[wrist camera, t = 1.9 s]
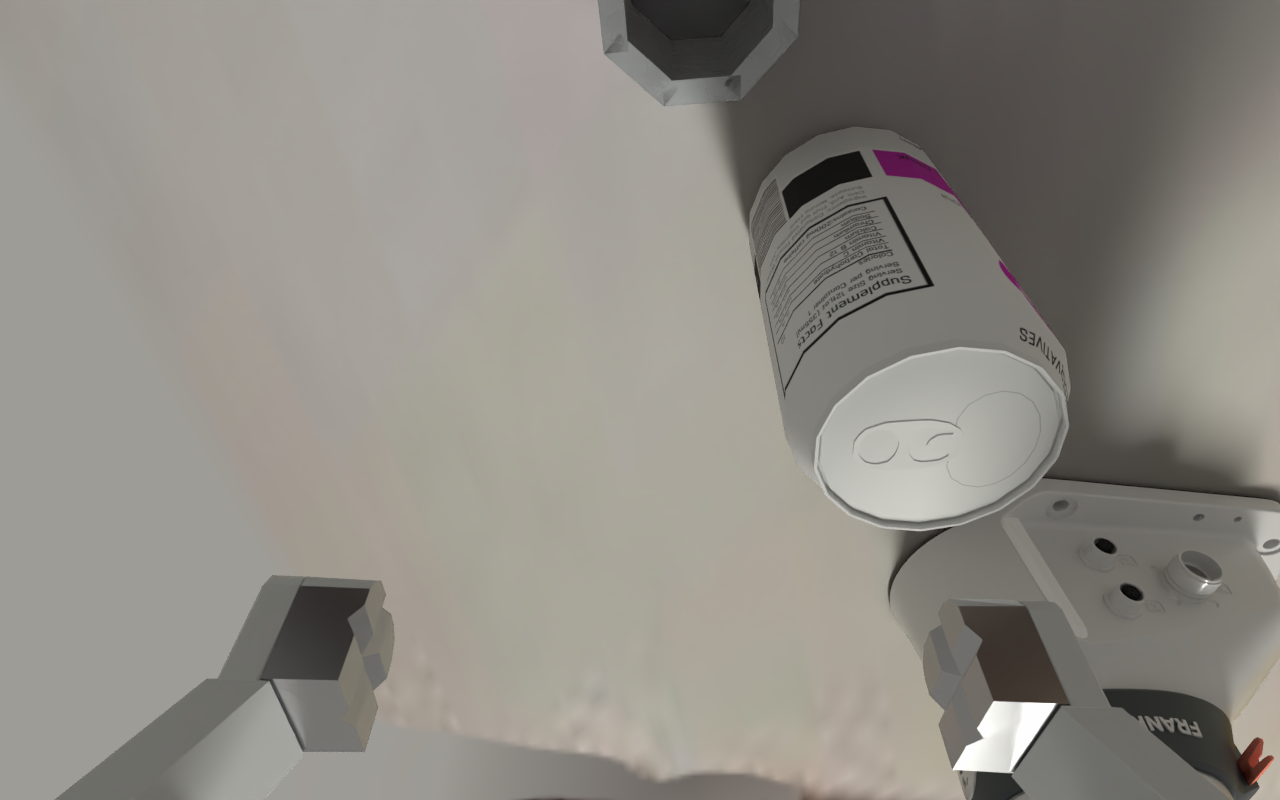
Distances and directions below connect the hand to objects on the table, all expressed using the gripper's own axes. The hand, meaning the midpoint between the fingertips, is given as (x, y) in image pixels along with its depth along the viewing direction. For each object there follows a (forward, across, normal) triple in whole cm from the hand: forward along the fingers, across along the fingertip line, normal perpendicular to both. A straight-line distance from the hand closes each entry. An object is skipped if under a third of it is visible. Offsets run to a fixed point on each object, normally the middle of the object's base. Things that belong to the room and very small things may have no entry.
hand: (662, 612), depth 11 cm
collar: (+24, -1, -4) cm, 25 cm away
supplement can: (+25, -8, +5) cm, 27 cm away
